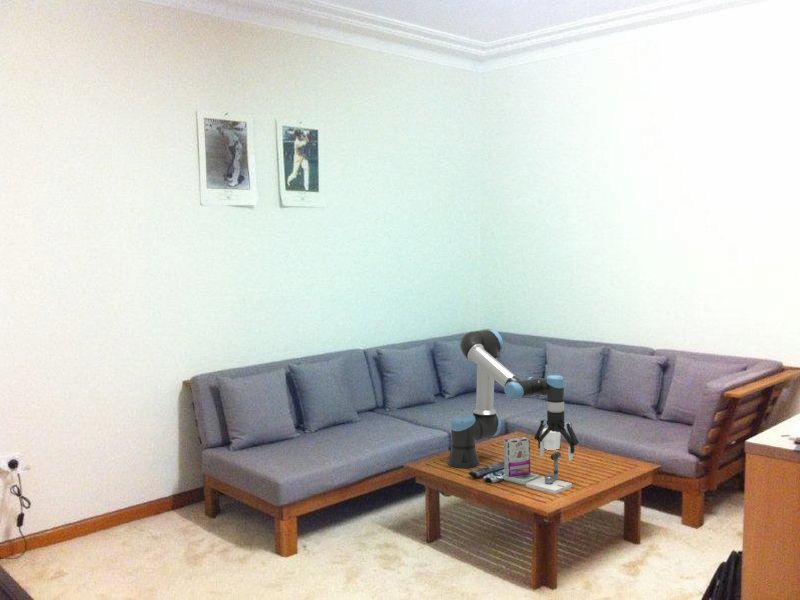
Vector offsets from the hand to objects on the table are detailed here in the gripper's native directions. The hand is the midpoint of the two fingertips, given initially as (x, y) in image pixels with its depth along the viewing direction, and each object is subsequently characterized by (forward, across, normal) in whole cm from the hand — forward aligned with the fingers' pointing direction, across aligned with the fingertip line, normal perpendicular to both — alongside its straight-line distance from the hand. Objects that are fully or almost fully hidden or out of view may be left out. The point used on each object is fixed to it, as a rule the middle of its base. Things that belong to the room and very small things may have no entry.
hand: (556, 458), depth 321 cm
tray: (+11, +17, +5) cm, 21 cm away
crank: (+9, 0, +3) cm, 10 cm away
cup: (+11, +27, -50) cm, 57 cm away
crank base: (+11, 0, +7) cm, 13 cm away
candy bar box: (+9, +17, +5) cm, 20 cm away
